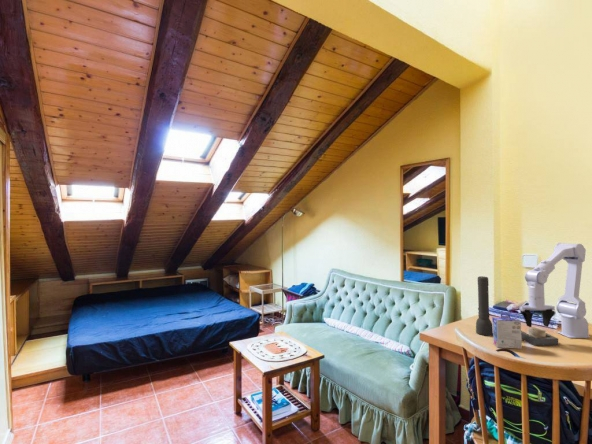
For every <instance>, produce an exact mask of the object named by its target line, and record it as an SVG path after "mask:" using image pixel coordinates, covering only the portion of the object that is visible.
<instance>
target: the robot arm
mask: <svg viewBox="0 0 592 444" xmlns="http://www.w3.org/2000/svg"><path fill="white" fill-rule="evenodd" d="M586 251H587V250H586V248H585V246H584V245H583V244H582V243H565V242H563V243H562V242H558V243H556V244H555V246H554V247H553V252H552V253H551V254H550V255H549V257H548V258H547V259H544V260H541V261H540V262H539V263H538V264H537V265H536V266H535V267H534V268H533V269H529V270H528V271H526V272H525V274H524V279H525V281H526V285H527V286H528V304H526V305H519V307H518V308H519V311H520V313H521V315H522V316H523V318H524V321H525V324H526V327H528V328H529V327H532V325H533V323H532V322H533V321H532V320H533V315H534V313H533V312H531V311H541V315H542V325H543V326H544V327H546V328H547V327H548V328H549V325H550V324H551V323H550V322H551V320H552V318H553V317H554V316H555V310H556V311H557V313H558V314H559V316H560V317H561V318H560V320H561V324H560V325H561V331H560V330H559V331H558V330H557V331H556V333H557V334H559V335H563V336H564V337H567V338H570V339H581V338H582V339H585V338H586V339H590V338H591V336H590V335H589V322H588V320H587V318H585V316H586V314H587V309H586V302H585V301H583V299H581V298H580V291H581V290H580V288H581V281H582V271H583V270H582V269H583V263H584V262H585V260H586ZM562 260H564V261H566V263H567V269H566V276H565V278H566V279H565V287H564V295H562V296H560V297H558V300H557V303H556V305H555V306H554V305H548V304H547V305H546V303H545V302H546V300H545V284H546V283H547V282H548V279H549V275H550V274H551V273H552V272H554V270H556V266H555V265H557V264H558V263H559V262H561V261H562Z"/></svg>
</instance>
